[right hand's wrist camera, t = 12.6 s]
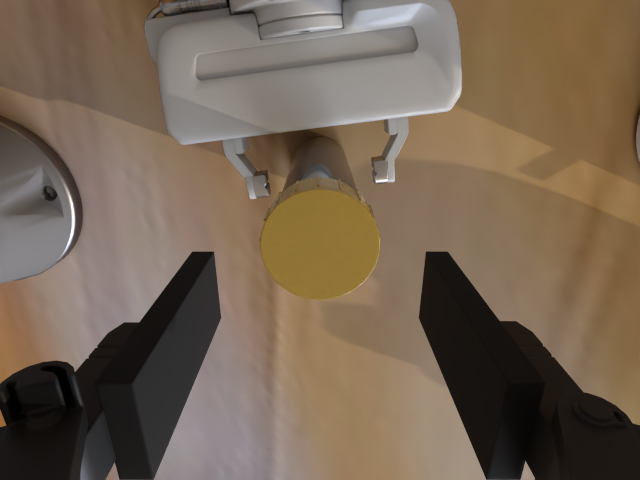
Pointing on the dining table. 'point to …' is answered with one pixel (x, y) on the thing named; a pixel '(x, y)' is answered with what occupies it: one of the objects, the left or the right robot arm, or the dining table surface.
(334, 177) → the bottle
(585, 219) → the dining table surface
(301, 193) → the lid
